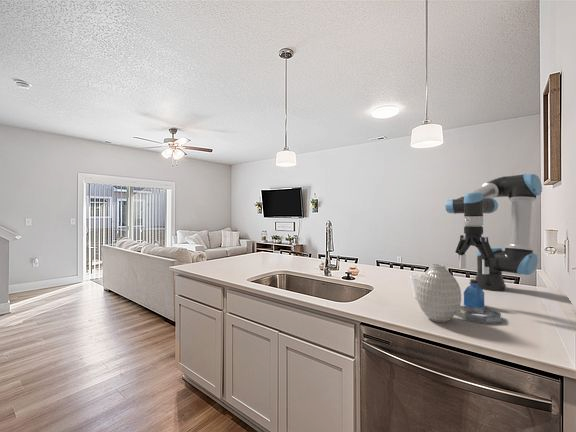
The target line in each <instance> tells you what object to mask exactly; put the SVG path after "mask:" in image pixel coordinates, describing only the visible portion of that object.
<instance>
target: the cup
mask: <svg viewBox="0 0 576 432" xmlns="http://www.w3.org/2000/svg"><path fill="white" fill-rule="evenodd" d="M421 276H422V274H411V275H410V276H409V278H410V283H411V289H412V293H413V294H412V295H413V297H414V299H415V300H417V296H416V288H417V283H418V281H419V279H420V277H421Z"/></svg>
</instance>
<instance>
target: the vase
mask: <svg viewBox="0 0 576 432" xmlns="http://www.w3.org/2000/svg"><path fill="white" fill-rule="evenodd" d="M421 275H422V276H421V277H420V279H419V281H418V283H417V288H416V296H417V299H416V300H417V304H418V306H419V307H420V310H421V311H422V312H423V313H424V315H425V316H426V317H427V318H428V319H429V320H431V321H433V322H437V323H447V322H448V321H450V320H451V319H453V318H454V316H456V315H455V314H456V313H457V311H458V310H459V307H460V306H461V303H462V292H461V287H460V284H459V283H458V281H457V279H456V277H454V275H453V274H452V273H451V272H449V270H448V269H447V268H446V267H445V265H444V264H440V263H433V264H432V263H431V264H430V267H429V268H427V270H426V271H424V272H423V274H421Z"/></svg>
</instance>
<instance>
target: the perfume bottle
mask: <svg viewBox="0 0 576 432" xmlns="http://www.w3.org/2000/svg"><path fill="white" fill-rule="evenodd" d="M475 279H476V278H473V279H472V278H471V279H469V280H470V281H469V286H466V288H465V290H464V291H463V306H469V305H470V306H476V307H483V308H484V306H485V291H484V289H481V287H478V280H475Z"/></svg>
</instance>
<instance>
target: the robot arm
mask: <svg viewBox="0 0 576 432" xmlns="http://www.w3.org/2000/svg"><path fill="white" fill-rule="evenodd" d="M542 185H543V184H542V182H541V179H540V177H539V176H538V175H537V174H535V173H529V174H528V173H524V174H518V175H517V174H516V175H509V176H501V177H497V178H494V179H492V180H490V181H487V182H485V183H483V184H482V185H481V186H480V187H479V188H477V189H474V190H473V191H471V192H469V193H468V192H467V193H465V194H464V195H463V196H461V197H459V198H455V199H454V198H451V199H448V200H447V201H445V205H444V206H445V207H444V208H445V211H446V212H447V213H448V214H455V215H456V214H463V225H464V226H463V234H464V235H463V234H460V235H459V236H460V237H459V241H458V244H457V246H456V249H455V253H456V254H458V261H459V269H466V267H467V266H466V263H467V262H466V261H467V258H466V252H467V251H468V249H469V248H470V247H471V246H472V247H475V248H476V249H477V254H476V260H477V261H476V263H477V265H476V266H477V269H476V270H477V273H476V275H475V278H474V279H475V280H478V287H481V289H482V290H487V291H496V292H497V291H498V292H500V291H501V292H502V291H506V290H507V285H506V283H505V280H504V277H503V273H511V274H518V275H526V276H529V275H532V274H533V273H534V272H535V271H536V268H537V266H538V260H539V259H538V255H537V254H536V253H534V250H533V249H532V248H531V247H530V241H531V239H530V238H531V226H532V225H531V224H532V211H533V203H534V201H536V200H537V196H540V195H541V194H542V192H543V186H542ZM503 197H504V198H505V197H507V198H508V200H509V201H510V202H511V207H510V223H509V224H510V225H509V236H508V237H509V238H508V245H506V246H505V247H504V250H503V248H502V247H491V244H490V242H489V237H488V236H482V235H484V214H492V213H495V212H496V211H497V210H498V208H499V203H498V201H497V200H496V199H495V198H503Z"/></svg>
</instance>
